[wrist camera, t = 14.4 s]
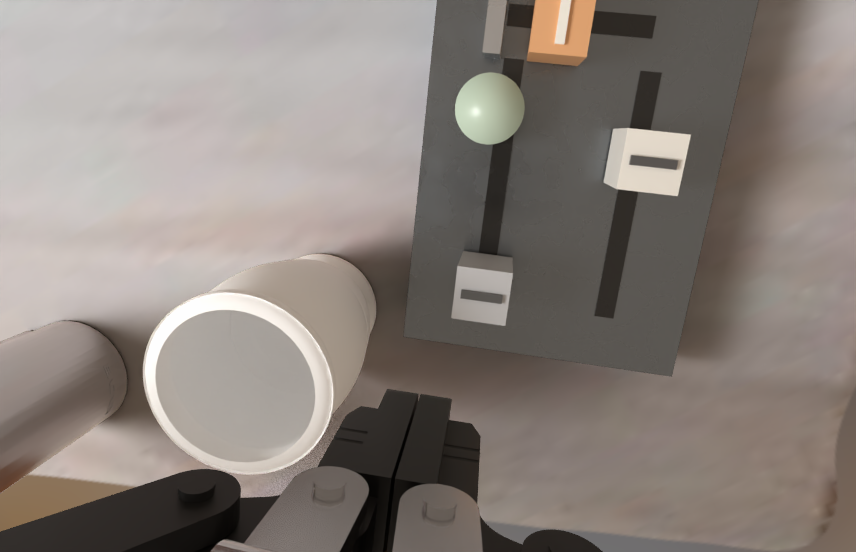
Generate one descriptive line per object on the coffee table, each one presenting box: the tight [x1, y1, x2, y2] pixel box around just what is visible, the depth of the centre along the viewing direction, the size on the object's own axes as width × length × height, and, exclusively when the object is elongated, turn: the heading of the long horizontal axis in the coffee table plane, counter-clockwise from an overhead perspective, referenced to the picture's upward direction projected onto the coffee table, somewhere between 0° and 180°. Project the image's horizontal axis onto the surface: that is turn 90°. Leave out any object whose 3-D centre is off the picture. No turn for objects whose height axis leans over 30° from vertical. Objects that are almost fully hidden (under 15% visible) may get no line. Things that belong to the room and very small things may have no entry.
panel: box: [403, 0, 758, 377], centre depth 36 cm, size 18×26×6 cm
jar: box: [143, 254, 376, 475], centre depth 37 cm, size 11×10×15 cm
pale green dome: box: [455, 72, 525, 145], centre depth 34 cm, size 4×4×2 cm
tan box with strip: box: [527, 0, 596, 66], centre depth 31 cm, size 3×5×4 cm, turn 174°
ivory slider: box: [603, 128, 691, 196], centre depth 32 cm, size 3×3×5 cm
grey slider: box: [451, 251, 513, 326], centre depth 35 cm, size 3×3×5 cm
